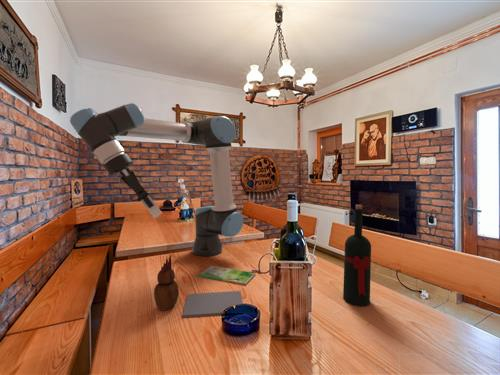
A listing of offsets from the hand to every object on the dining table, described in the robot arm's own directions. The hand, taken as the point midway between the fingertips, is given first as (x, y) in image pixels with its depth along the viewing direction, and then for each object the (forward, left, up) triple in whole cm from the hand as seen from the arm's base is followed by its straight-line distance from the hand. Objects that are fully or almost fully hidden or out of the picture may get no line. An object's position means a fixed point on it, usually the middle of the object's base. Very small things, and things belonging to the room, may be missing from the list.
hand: (157, 214), depth 78 cm
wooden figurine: (+2, +9, -27) cm, 28 cm away
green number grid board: (-25, +4, -27) cm, 37 cm away
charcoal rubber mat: (-10, +18, -26) cm, 33 cm away
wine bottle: (-42, +47, -27) cm, 69 cm away
